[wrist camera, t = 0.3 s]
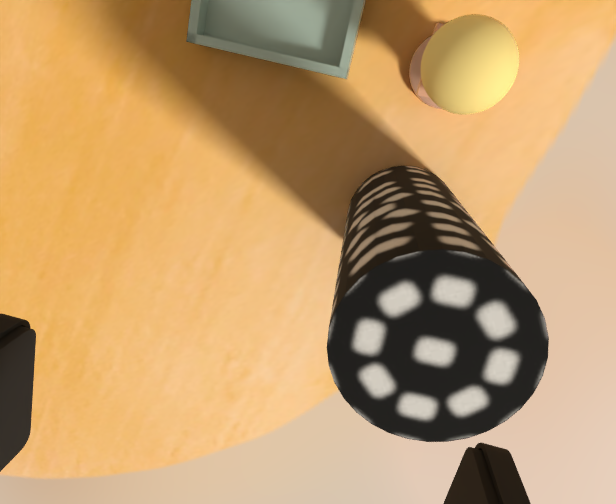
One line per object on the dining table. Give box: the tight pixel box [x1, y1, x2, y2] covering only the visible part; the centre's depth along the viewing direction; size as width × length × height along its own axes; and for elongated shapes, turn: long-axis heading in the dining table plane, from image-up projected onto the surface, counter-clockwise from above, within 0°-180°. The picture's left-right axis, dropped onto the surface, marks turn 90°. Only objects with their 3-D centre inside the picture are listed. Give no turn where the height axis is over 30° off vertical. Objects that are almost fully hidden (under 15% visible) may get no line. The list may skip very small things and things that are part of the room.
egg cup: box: [409, 23, 445, 109], centre depth 32 cm, size 5×5×6 cm
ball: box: [421, 14, 519, 114], centre depth 27 cm, size 5×5×5 cm
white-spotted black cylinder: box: [327, 166, 549, 442], centre depth 29 cm, size 8×8×20 cm
